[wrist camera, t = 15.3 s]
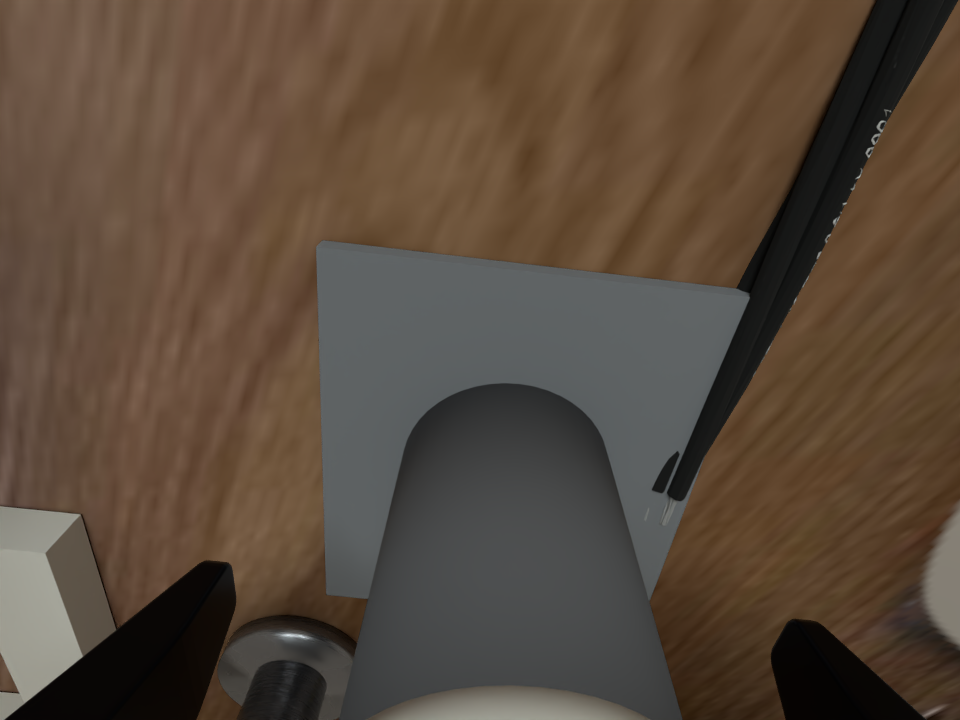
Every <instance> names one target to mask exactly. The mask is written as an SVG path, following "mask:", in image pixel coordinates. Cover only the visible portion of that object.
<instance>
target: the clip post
mask: <svg viewBox="0 0 960 720" xmlns="http://www.w3.org/2000/svg"><path fill="white" fill-rule="evenodd" d="M356 647H357V644H356V643H355V642H354V641H353V640H352V639H351V638H350V637H348V636H347V635H346V634H344V633H343V632H341V631H340V630H338V629H336V628H334V627H332V626H330V625H327V624H325V623H322V622H319V621H316V620H313V619H308V618H303V617H296V616H271V617H265V618H260V619H257V620H254V621H251V622H249V623H247V624H245V625H243V626H242V627H240V628H239V629H238V630H237V631H236V632H235V633H234V634H233V635H232V636H231V638H230V640H229V642H228V644H227V646H226V648H225V650H224V653H223V655H222V657H221V659H220V662H219V664H218V678H219V681H220V683H221V685H222V687H223V689H224V690H225V692H226V693H227V694H228V695H229V696H230V697H231V698H232V699H233V700H234V701H235V702H237V703H238V704H239V705H241V706H242V707H241V710H240V712H239V715H238V717H237V720H335V719H337V718H339V717H340V713H341V709H342V705H343V701H344V697H345V692H346V688H347V684H348V680H349V676H350V672H351V668H352V663H353V659H354V655H355V651H356Z"/></svg>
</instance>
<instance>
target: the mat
mask: <svg viewBox="0 0 960 720" xmlns="http://www.w3.org/2000/svg"><path fill="white" fill-rule="evenodd" d="M316 255H317V290H318V325H319V360H320V395H321V429H322V464H323V499H324V534H325V568H326V595H333V596H343V597H353V598H363V599H368V597H369V593H370V589H371V585H372V580H373V576H374V572H375V568H376V564H377V560H378V555H379V551H380V547H381V543H382V539H383V535H384V531H385V526H386V522H387V518H388V514H389V510H390V506H391V502H392V497H393V493H394V489H395V485H396V481H397V477H398V472H399V468H400V464H401V460H402V456H403V452H404V448H405V445H406V442H407V439H408V437H409V435H410V433H411V431H412V429H413V428H414V426H415V425H416V424H417V422H418V421H419V419H420V418H421V417H422V416H423V415H424V414H425V413H426V412H427V411H428V410H429V409H431V408H432V407H433V406H435V405H436V404H437V403H439V402H440V401H442V400H444V399H445V398H447V397H449V396H451V395H453V394H455V393H458V392H460V391H462V390H466V389H469V388H473V387H476V386H482V385H487V384H499V383H511V384H523V385H529V386H534V387H538V388H541V389H544V390H548V391H550V392H552V393H555V394H557V395H559V396H561V397H563V398H565V399H567V400H568V401H570V402H572V403H573V404H574V405H576V406H577V407H578V408H580V409H581V410H582V411H583V412H584V413H585V414H586V415H587V416H588V417H589V418H590V419H591V420H592V422H593V423H594V424H595V426H596V427H597V429H598V430H599V432H600V434H601V436H602V438H603V441H604V444H605V447H606V450H607V454H608V457H609V461H610V464H611V468H612V472H613V475H614V479H615V482H616V486H617V489H618V493H619V496H620V500H621V503H622V507H623V510H624V514H625V518H626V521H627V525H628V528H629V532H630V535H631V539H632V542H633V546H634V549H635V553H636V557H637V560H638V564H639V567H640V571H641V574H642V578H643V581H644V585H645V588H646V592H647V595H648V599H649V601H650V599H651V596H652V593H653V591H654V588H655V586H656V583H657V580H658V578H659V575H660V572H661V570H662V567H663V565H664V562H665V559H666V557H667V554H668V551H669V549H670V546H671V544H672V541H673V538H674V536H675V533H676V530H677V528H678V525H679V523H680V520H681V517H682V515H683V512H684V509H685V507H686V504H687V502H688V499H689V496H690V494H691V491H692V489H693V486H694V483H695V481H696V478H697V475H698V473H699V470H700V468H701V465H702V463H701V465H700V467H699V469H698V472H697V474H696V476H695V478H694V480H693V482H692V484H691V487H690V489H689V491H688V493H687V495H686V497H685V499H684V500H683V501H678V502H677V504H676V505H675V507H674V510H673V512H672V515H671V517H670V519H669V521H668V523H667V525H665V526H663V525H661V524H659V521H660V518H661V515H662V513H663V510H664V508H665V505H666V503H667V502H668V500H669V498H670V497H669V496H668V494H667V491H668V489H669V486H670V484H671V481H672V479H673V477H674V474H675V472H676V470H677V467H678V465H679V463H680V460H681V458H682V456H683V453H684V451H685V448H686V446H687V444H688V441H689V439H690V437H691V434H692V432H693V430H694V427H695V425H696V423H697V420H698V418H699V415H700V413H701V411H702V408H703V406H704V404H705V401H706V399H707V397H708V394H709V392H710V390H711V387H712V385H713V383H714V380H715V378H716V376H717V373H718V371H719V369H720V366H721V364H722V362H723V359H724V357H725V354H726V352H727V350H728V347H729V345H730V343H731V340H732V338H733V336H734V333H735V331H736V329H737V326H738V324H739V322H740V320H741V317H742V315H743V313H744V310H745V308H746V306H747V304H748V301H749V299H750V297H749V295H750V293H746V292H743V291H741V290H739V289H735V288H726V287H718V286H709V285H701V284H692V283H684V282H675V281H666V280H658V279H649V278H641V277H632V276H624V275H615V274H607V273H598V272H589V271H581V270H572V269H564V268H555V267H547V266H538V265H530V264H521V263H512V262H504V261H495V260H487V259H478V258H470V257H461V256H453V255H444V254H435V253H427V252H418V251H410V250H401V249H393V248H384V247H376V246H367V245H358V244H350V243H341V242H333V241H324V240H322V241H321V242H320V243H319V244H318V245H317V247H316ZM677 451H678V452H679V454H680V455H679V457H678V460H677V462H676V465H675V467H674V470H673V472H672V474H671V477H670V479H669V482H668V484H667V486H666V489H665V491H664V492H663V493H659V492H655V491H653V490H652V487H653V485H654V483H655V481H656V479H657V477H658V476H659V474H660V472H661V470H662V468H663V467H664V465H665V464H666V462H667V461H668V459H669V458H670V457H671V456H672V455H673V454H675V453H676V452H677ZM704 457H705V456H704ZM703 460H704V459H703ZM702 462H703V461H702ZM648 507H649V512H648V515H647V519H646V521H645V520H644V518H645V515H646V512H647V510H648Z"/></svg>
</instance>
